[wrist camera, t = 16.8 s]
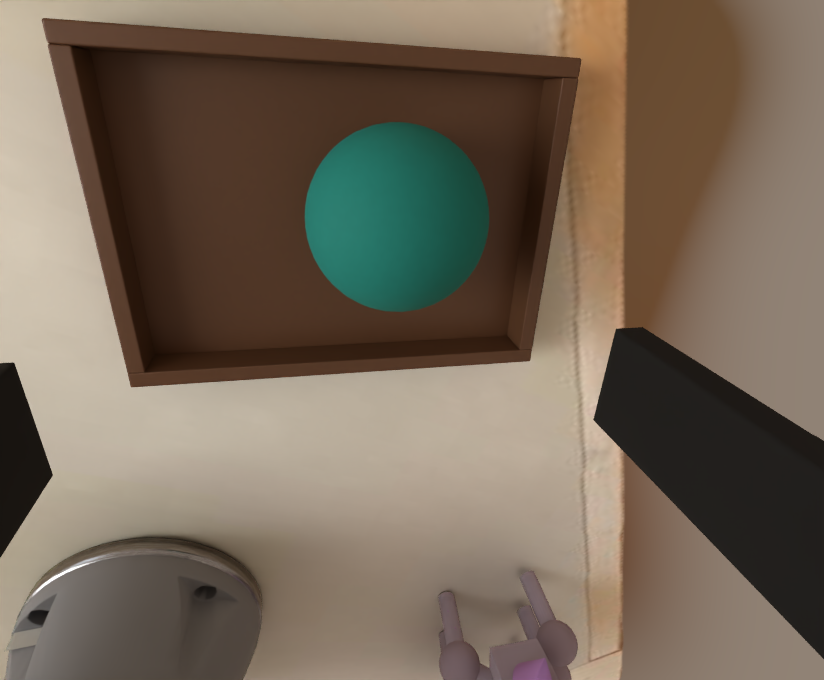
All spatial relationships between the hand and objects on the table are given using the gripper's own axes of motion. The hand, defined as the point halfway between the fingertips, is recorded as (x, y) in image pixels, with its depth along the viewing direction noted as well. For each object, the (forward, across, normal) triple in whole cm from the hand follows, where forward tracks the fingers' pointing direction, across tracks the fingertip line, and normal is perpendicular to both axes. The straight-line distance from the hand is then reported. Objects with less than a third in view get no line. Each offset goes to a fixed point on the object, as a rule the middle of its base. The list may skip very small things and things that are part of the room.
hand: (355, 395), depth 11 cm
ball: (+12, -3, -2) cm, 12 cm away
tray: (+16, -1, -1) cm, 16 cm away
